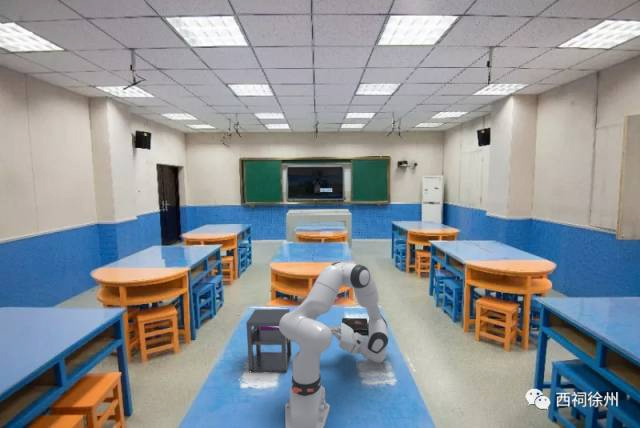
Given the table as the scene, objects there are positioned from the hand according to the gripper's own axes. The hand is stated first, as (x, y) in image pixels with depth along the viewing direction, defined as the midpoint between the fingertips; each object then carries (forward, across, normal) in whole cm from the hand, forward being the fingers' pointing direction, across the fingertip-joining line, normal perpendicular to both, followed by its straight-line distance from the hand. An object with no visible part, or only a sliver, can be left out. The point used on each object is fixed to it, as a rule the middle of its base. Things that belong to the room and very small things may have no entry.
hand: (331, 329), depth 159 cm
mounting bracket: (+24, -29, +36) cm, 52 cm away
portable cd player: (-21, -39, +10) cm, 46 cm away
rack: (+18, 0, +32) cm, 37 cm away
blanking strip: (+7, 0, +6) cm, 9 cm away
